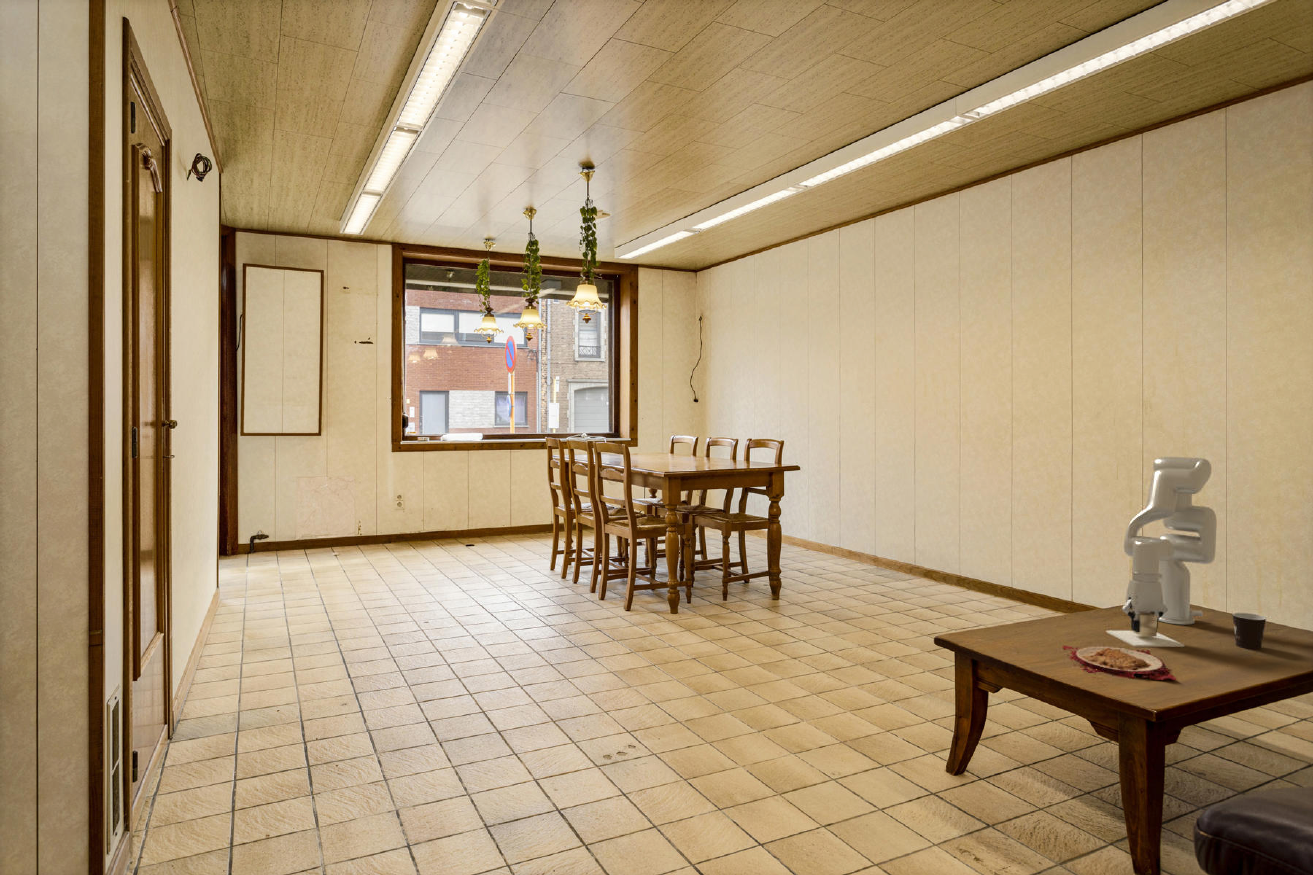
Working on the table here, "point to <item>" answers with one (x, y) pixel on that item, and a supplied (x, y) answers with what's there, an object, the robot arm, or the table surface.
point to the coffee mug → (1248, 630)
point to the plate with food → (1121, 662)
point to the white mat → (1145, 639)
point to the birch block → (1147, 624)
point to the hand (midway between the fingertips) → (1144, 630)
